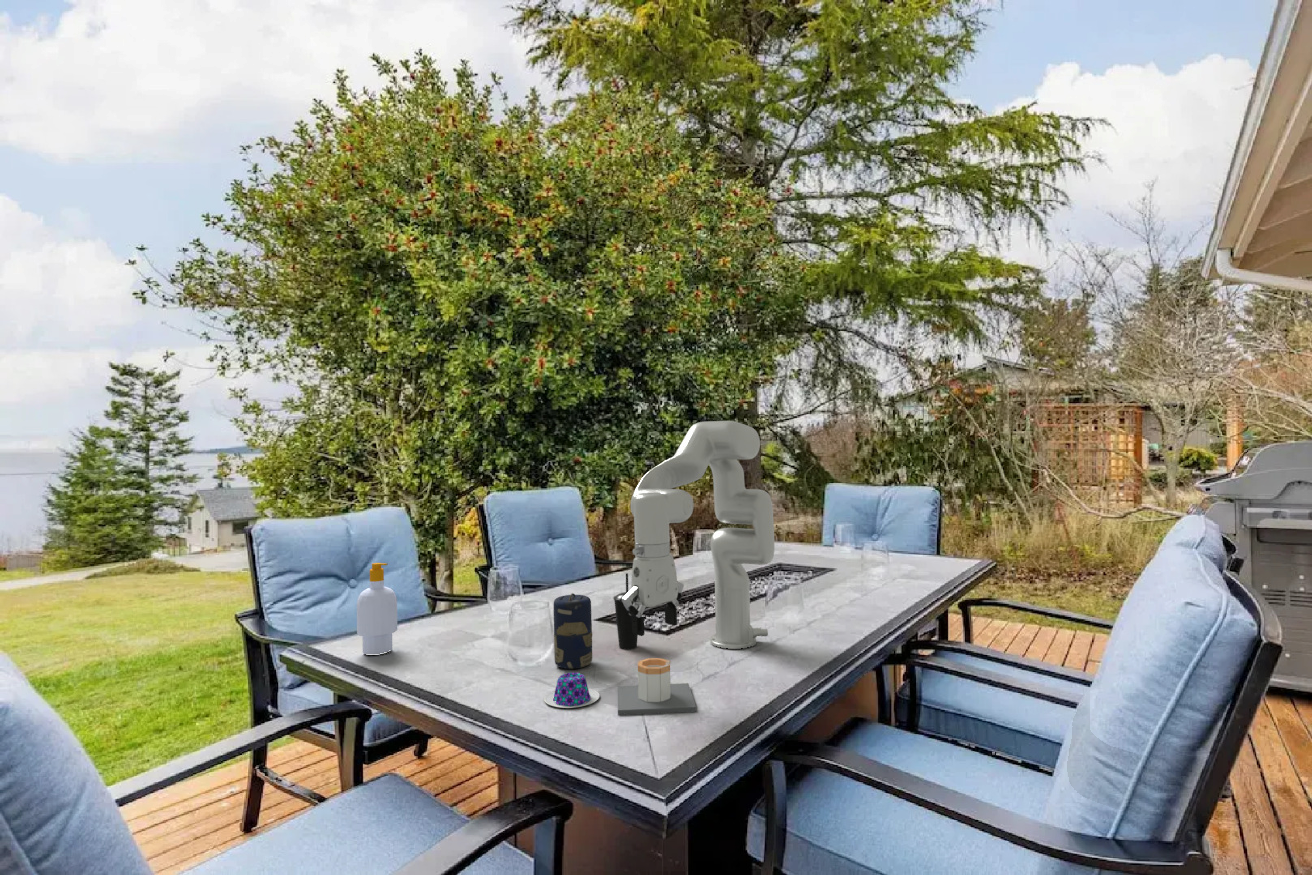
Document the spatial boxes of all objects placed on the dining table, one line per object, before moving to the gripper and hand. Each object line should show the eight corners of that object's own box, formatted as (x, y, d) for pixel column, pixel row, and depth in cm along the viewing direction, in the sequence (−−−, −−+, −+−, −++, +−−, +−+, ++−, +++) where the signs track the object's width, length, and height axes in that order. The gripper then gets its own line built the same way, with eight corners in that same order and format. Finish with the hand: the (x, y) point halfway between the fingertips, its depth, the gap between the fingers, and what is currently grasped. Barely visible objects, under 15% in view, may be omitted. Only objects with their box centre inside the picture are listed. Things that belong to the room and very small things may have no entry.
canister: (598, 661, 174) (597, 590, 174) (582, 673, 165) (581, 598, 165) (565, 657, 177) (563, 588, 177) (547, 669, 168) (546, 596, 168)
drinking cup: (638, 651, 181) (637, 576, 181) (610, 650, 182) (609, 575, 183) (644, 643, 188) (643, 571, 189) (618, 642, 190) (616, 570, 190)
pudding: (561, 715, 139) (561, 690, 139) (534, 699, 149) (533, 675, 149) (610, 701, 147) (609, 677, 147) (581, 686, 156) (580, 663, 156)
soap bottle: (383, 659, 178) (382, 567, 179) (348, 657, 180) (347, 566, 181) (405, 647, 188) (404, 560, 189) (372, 646, 190) (371, 560, 191)
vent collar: (677, 695, 146) (676, 663, 146) (653, 704, 141) (653, 670, 141) (655, 687, 151) (654, 656, 151) (632, 696, 146) (631, 663, 146)
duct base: (688, 687, 153) (688, 660, 153) (695, 711, 139) (695, 682, 139) (617, 690, 152) (617, 663, 152) (617, 714, 138) (617, 685, 138)
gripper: (634, 558, 138) (636, 642, 138) (692, 546, 150) (695, 623, 150) (610, 554, 143) (613, 635, 143) (668, 543, 155) (671, 617, 155)
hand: (655, 629), depth 147 cm, fingers open, 9 cm apart
